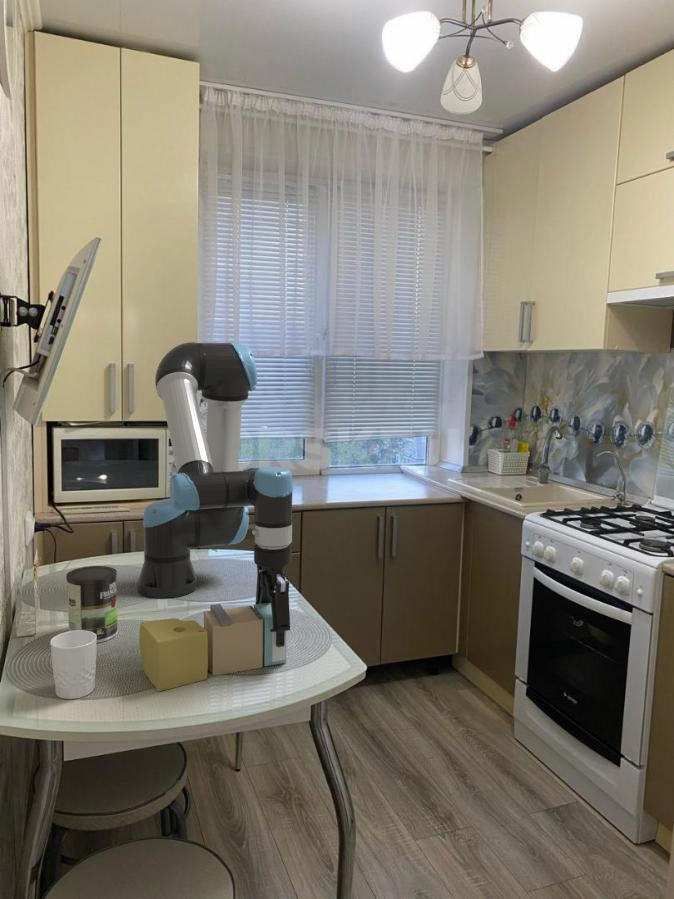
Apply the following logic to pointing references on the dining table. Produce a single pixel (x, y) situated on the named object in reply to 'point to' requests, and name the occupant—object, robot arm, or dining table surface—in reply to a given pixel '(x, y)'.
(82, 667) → the white cup
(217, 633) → the slotted tan box
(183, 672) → the cheese
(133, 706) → the dining table surface
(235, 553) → the dining table surface
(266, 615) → the light blue box
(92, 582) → the coffee can
